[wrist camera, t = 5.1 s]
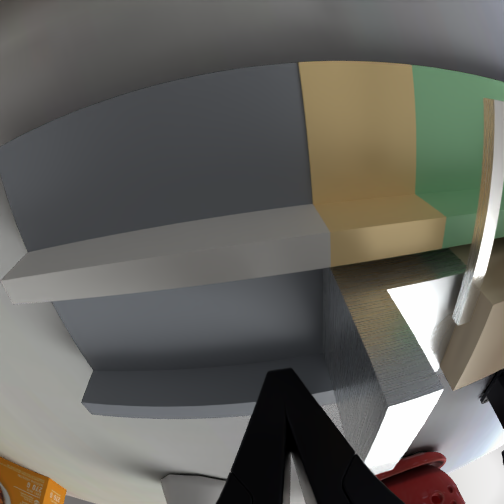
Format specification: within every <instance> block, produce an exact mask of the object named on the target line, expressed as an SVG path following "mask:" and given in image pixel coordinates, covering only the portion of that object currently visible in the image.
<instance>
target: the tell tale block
mask: <svg viewBox="0 0 504 504" xmlns="http://www.w3.org/2000/svg"><path fill="white" fill-rule="evenodd" d="M470 248H471V243H470V244H465V245H459V246H454V247H449V249H450V250H451V251H452V252H453V253H454V254H455V255H456V256H457V257H458V258H459V259H460V260H461V261H462V262H463V263H464V264H465V265H466V266H467V262H468V257H469V253H470ZM440 368H441V370H442V372H443V373H444V375H445V377H446V379H447V381H448V383H449V384H450V386H451V388H452V390H453V391H455V390H457V389H460V388H462V387H464V386H467V385H469V384H471V383H474V382H476V381H478V380H480V379H482V378H485V377H487V376H489V375H491V374H493V373H495V372H497V371H499V370H501V369H503V368H504V237H501V238H496V239H494V241H493V245H492V250H491V254H490V258H489V262H488V265H487V269H486V273H485V276H484V280H483V283H482V286H481V290H480V293H479V296H478V299H477V302H476V305H475V308H474V311H473V314H472V316H471V319H470V322H468V323H465V324H462V325H459V326H458V325H457V324H456V325H455V328H454V330H453V333H452V336H451V339H450V341H449V344H448V346H447V349H446V351H445V354H444V356H443V359H442V361H441V363H440Z"/></svg>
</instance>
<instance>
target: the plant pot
mask: <svg viewBox="0 0 504 504" xmlns="http://www.w3.org/2000/svg"><path fill="white" fill-rule="evenodd" d="M445 462H446V458H445V456H444V455H443V454H441V453H438V452H424V453H422V452H418V453H416V454H414V455H411V456H408V457H405V458H402V459H400V460H399V461H398V463H397V464H396V466H395V467H394V468H393V470H390V471H386V472H383V473H380V474H376V475H375V476H376V477H377V478H378V479H379V480H380V481H381V482H382V483H383V484H384V485H385V486H386V487H387V488H389V489H390V490H391V491H392V492H393V493H394V494H395V495H396V496H397V497H399V498H400V499H401V500H402V501H403V502H404V503H405V504H465V502H464V500H463V498H462V496H461V494H460V492H459V490H458V488H457V486H456V484H455V483H454V481H453V480H452V479H451V478H450V477H449V476H448V475H447V474H446V473H445V472H443V471H442V470H440V468H441V467H442V466H443V465H444V464H445Z"/></svg>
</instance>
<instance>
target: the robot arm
mask: <svg viewBox="0 0 504 504" xmlns="http://www.w3.org/2000/svg"><path fill="white" fill-rule="evenodd" d="M480 401H481V403H482V404H484V403H486V402H488V401H489V402H490V404H491V406H492V407H493V409H494V411H495V413H496V415H497V417H498V419H499V421H500V423H501V425H502V427H503V429H504V368H503V369H501V370H499V371H498V373H497V374H496V376H495V378H494V379H493V381H492V382H491V384H490V386H489V387H488V389H487V390H486V392H485V393H484V395H483V396H482V398H481V399H480ZM291 454H292V458H293V461H294V465H295V468H296V472H297V475H298V478H299V482H300V485H301V489H302V492H303V495H304V499H305V502H306V504H405V503H404V502H403V501H402V500H401V499H400V498H399V497H397V496H396V495H395V494H394V493H393V492H392V491H391V490H390V489H389V488H387V487H386V486H385V485H384V484H383V483H382V482H381V481H380V480H379V479H378V478H377V477H376V476H375V475H374V473H373V472H372V471H371V470H370V469H369V468H368V467H367V465H366V464H365V463H364V462H363V460H362V459H361V458H360V457H359V455H358V454H355V451H354V449H353V448H352V447H351V445H350V444H349V443H348V442H347V440H346V439H345V438H344V436H343V435H342V434H341V432H340V431H339V430H338V429H337V427H336V426H335V425H334V423H333V422H332V421H331V419H330V418H329V417H328V415H327V414H326V413H325V411H324V410H323V409H322V407H321V406H320V405H319V403H318V402H317V401H316V399H315V398H314V397H313V395H312V394H311V393H310V391H309V390H308V389H307V387H306V386H305V385H304V383H303V382H302V381H301V379H300V378H299V376H298V375H297V374H296V372H295V371H294V370H293V369H292V368H291V367H288V368H281V369H275V370H269V371H268V372H267V373H266V376H265V379H264V382H263V385H262V387H261V390H260V393H259V396H258V399H257V402H256V404H255V407H254V410H253V413H252V416H251V418H250V421H249V424H248V426H247V429H246V432H245V434H244V437H243V440H242V442H241V445H240V448H239V450H238V453H237V455H236V458H235V461H234V463H233V466H232V468H231V472H230V473H229V475H228V478H227V480H226V483H225V485H224V487H223V489H222V492H221V494H220V496H219V498H218V500H217V502H216V504H290V472H291ZM502 457H503V464H504V451H502Z"/></svg>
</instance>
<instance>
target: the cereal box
mask: <svg viewBox="0 0 504 504" xmlns="http://www.w3.org/2000/svg"><path fill="white" fill-rule="evenodd" d="M66 491H67V490H66V489H64V488H63V487H61V486H60V485H58V484H57V483H56V482H54V481H53V480H52V479H50V478H48V477H46V476H43V475H40V474H38V473H35V472H33V471H31V470H28V469H26V468H24V467H21V466H19V465H17V464H15V463H13V462H10V461H8V460H6V459H4V458H2V457H0V504H64V499H65V495H66Z"/></svg>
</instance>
